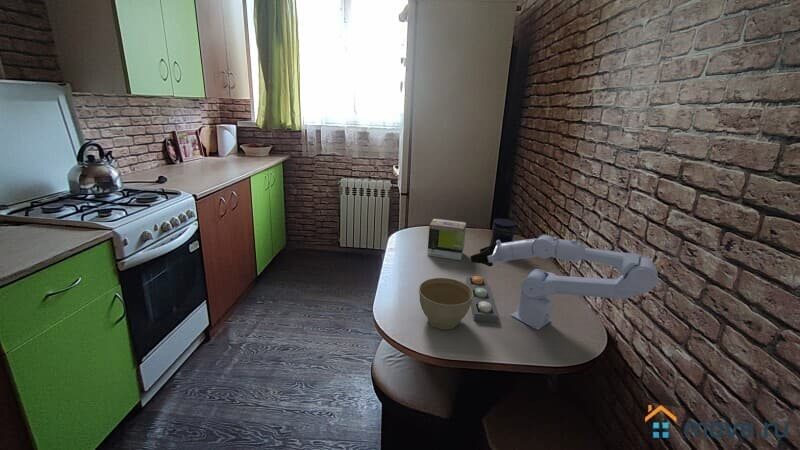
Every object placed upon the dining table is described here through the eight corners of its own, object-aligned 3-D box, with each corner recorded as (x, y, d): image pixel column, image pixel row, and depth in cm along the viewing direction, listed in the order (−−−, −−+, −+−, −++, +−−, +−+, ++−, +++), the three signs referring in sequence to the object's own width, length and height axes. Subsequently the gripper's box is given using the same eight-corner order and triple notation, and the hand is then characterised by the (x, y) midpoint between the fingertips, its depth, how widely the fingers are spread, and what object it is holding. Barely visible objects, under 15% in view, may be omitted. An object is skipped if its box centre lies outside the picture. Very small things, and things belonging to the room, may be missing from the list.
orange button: (483, 286, 130) (484, 281, 130) (472, 285, 131) (473, 280, 130) (481, 281, 134) (482, 276, 133) (471, 280, 134) (471, 275, 134)
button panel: (496, 322, 113) (497, 315, 112) (473, 320, 113) (474, 313, 112) (484, 284, 136) (485, 278, 135) (466, 282, 136) (466, 276, 136)
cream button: (491, 314, 113) (492, 308, 113) (478, 313, 114) (479, 307, 113) (489, 307, 117) (490, 302, 116) (477, 306, 117) (478, 300, 117)
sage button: (487, 299, 122) (488, 294, 121) (475, 298, 122) (476, 293, 121) (485, 293, 126) (486, 288, 125) (474, 292, 126) (474, 287, 125)
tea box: (463, 252, 163) (467, 221, 159) (460, 261, 154) (464, 229, 149) (430, 247, 167) (433, 217, 162) (426, 255, 158) (429, 224, 153)
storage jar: (513, 257, 161) (518, 226, 156) (491, 256, 161) (496, 224, 156) (507, 248, 171) (512, 219, 166) (486, 247, 171) (491, 217, 166)
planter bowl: (419, 303, 120) (421, 274, 117) (468, 310, 118) (472, 281, 115) (413, 332, 105) (416, 300, 102) (469, 340, 103) (474, 308, 100)
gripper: (519, 232, 118) (481, 238, 127) (504, 244, 107) (463, 250, 115) (524, 252, 119) (486, 257, 127) (510, 266, 108) (469, 271, 116)
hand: (476, 255), depth 121 cm, fingers open, 7 cm apart
